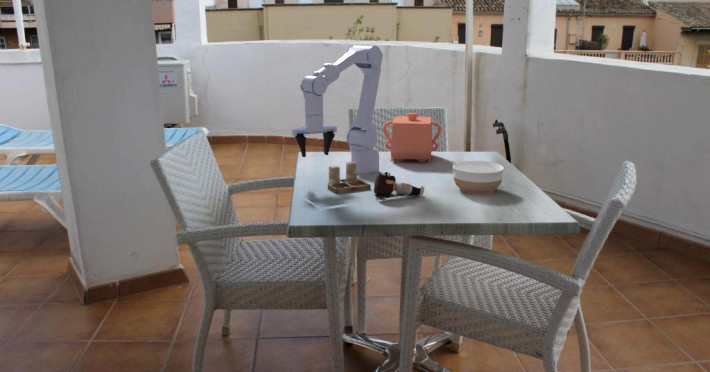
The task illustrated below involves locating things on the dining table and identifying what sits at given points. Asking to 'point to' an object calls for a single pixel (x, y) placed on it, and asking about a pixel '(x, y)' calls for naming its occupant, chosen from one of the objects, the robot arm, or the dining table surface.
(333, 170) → the beige rounded cylinder
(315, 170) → the dining table surface
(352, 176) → the beige short cylinder
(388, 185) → the figurine
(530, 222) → the dining table surface
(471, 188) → the bowl
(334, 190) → the socket board
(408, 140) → the lidded jar with handles
